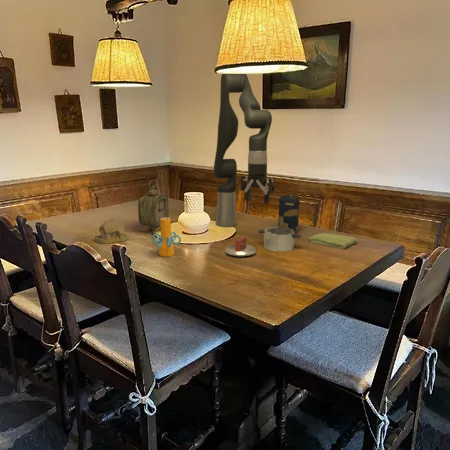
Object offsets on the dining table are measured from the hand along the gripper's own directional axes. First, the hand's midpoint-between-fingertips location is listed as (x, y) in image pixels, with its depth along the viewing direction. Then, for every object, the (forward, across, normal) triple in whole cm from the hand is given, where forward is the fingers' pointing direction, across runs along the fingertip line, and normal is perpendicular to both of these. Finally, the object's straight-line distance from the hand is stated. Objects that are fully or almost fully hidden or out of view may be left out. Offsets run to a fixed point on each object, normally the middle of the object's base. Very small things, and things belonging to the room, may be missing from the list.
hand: (257, 202), depth 173 cm
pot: (+20, +5, +10) cm, 23 cm away
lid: (+20, -3, -7) cm, 22 cm away
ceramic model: (+20, -61, -24) cm, 69 cm away
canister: (+20, -2, +33) cm, 39 cm away
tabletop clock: (+20, -55, -3) cm, 59 cm away
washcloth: (+21, +22, +28) cm, 42 cm away
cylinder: (+20, -27, -25) cm, 42 cm away
